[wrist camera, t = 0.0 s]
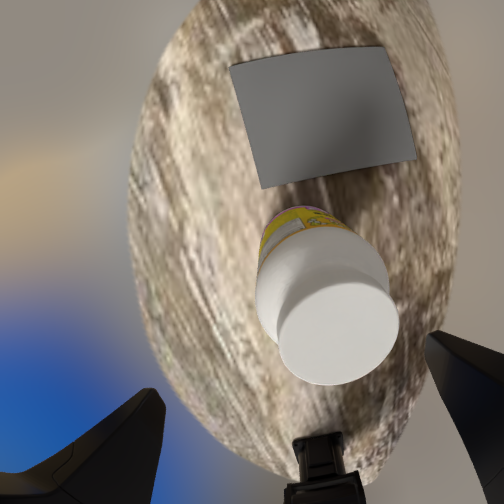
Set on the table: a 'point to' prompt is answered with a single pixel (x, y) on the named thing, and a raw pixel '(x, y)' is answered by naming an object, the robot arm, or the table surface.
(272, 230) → the supplement bottle
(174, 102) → the table surface
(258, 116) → the mat
